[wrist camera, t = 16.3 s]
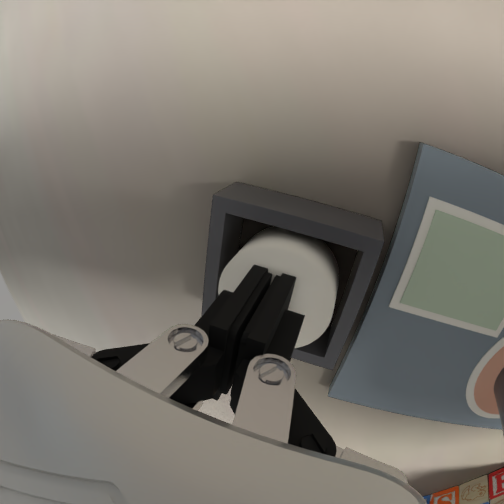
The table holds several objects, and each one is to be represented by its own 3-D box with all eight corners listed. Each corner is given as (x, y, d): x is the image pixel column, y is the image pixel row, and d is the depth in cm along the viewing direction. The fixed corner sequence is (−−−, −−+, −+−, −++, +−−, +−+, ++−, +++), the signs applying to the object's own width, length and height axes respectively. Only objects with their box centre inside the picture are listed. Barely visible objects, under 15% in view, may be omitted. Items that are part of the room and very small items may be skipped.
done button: (352, 242, 13) (349, 269, 11) (323, 328, 15) (314, 361, 13) (247, 213, 14) (224, 232, 12) (233, 300, 16) (213, 328, 14)
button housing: (381, 220, 13) (384, 241, 11) (338, 338, 16) (332, 370, 14) (236, 181, 14) (213, 194, 12) (220, 300, 17) (200, 325, 15)
